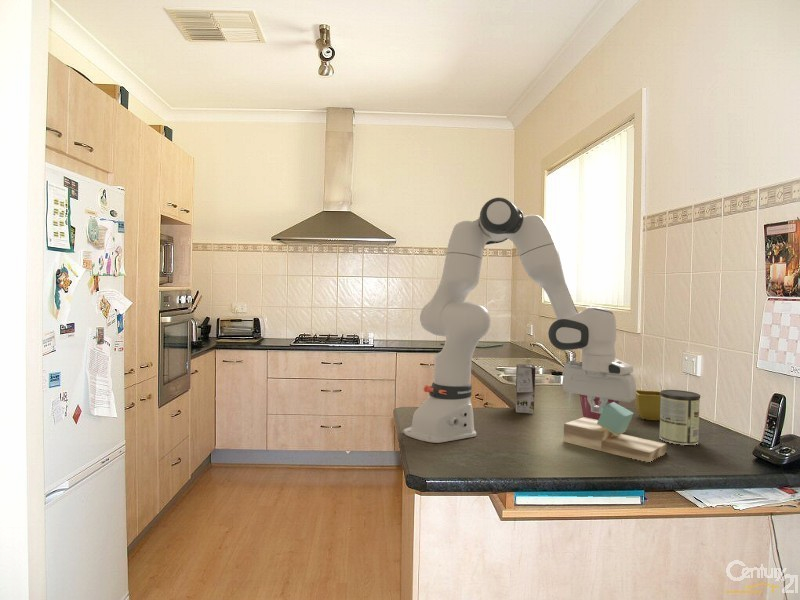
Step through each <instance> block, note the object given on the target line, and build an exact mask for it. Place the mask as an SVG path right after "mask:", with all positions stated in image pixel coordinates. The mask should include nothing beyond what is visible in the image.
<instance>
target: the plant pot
mask: <svg viewBox="0 0 800 600" xmlns="http://www.w3.org/2000/svg"><path fill="white" fill-rule="evenodd" d="M578 395H579V399H580V405H581V411H582V416H583V417H586V418H591V419H596V420H599V418H600V415H601V414H600V413H595V412H591V406H590V404H589V402H588V400H587V395H581V394H578ZM593 400H594V402H595V404H596V405H597V406H600V404H601V402H600V398H599V397H595V399H593ZM612 402H615V403H616V404H618V405H620V404H619V403H620V401H617V400H611V399H608V402H607V403H606V404H605V405H607V404H610V403H612ZM603 408H604V407H603Z"/></svg>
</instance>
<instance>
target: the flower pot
mask: <svg viewBox="0 0 800 600" xmlns="http://www.w3.org/2000/svg"><path fill="white" fill-rule="evenodd" d="M660 391H661V390H659V391H658V390H641V389H640V390H639V389H638V390H637V389H636V398H635V399H634V400H633V401H634V406H635V409H636V412H637V414H638V416H639V417H640V418H641V420H644V419H646V420H649V421H660V405H661V394H660ZM646 420H645V421H646Z"/></svg>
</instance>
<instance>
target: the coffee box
mask: <svg viewBox="0 0 800 600" xmlns="http://www.w3.org/2000/svg"><path fill="white" fill-rule="evenodd" d="M515 376H516V377H515V413H519V414H531V415H533V414H534V413H535V412H534V411H535V390H536V386H535V385H536V366H535V365H534V364H527V363H526V364H524V363H522V364H519V363H518V364H516V373H515Z"/></svg>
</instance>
